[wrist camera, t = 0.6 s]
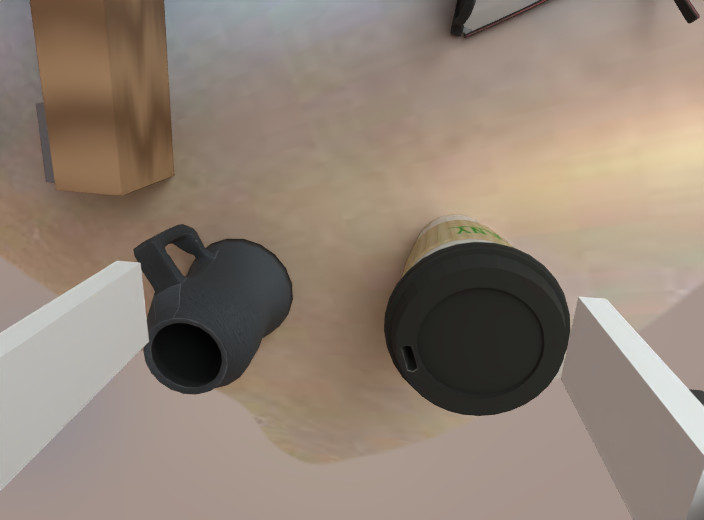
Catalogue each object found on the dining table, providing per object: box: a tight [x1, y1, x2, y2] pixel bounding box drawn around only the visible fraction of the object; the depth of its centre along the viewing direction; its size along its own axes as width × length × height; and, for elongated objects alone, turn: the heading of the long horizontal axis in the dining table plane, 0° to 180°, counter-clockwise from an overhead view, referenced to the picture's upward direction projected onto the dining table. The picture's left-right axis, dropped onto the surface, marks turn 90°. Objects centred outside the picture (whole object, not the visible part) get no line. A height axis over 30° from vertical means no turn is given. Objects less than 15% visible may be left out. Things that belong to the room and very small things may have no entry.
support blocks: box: [36, 103, 55, 183], centre depth 38 cm, size 6×9×4 cm, turn 86°
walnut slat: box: [30, 0, 174, 196], centre depth 33 cm, size 22×4×8 cm, turn 177°
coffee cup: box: [384, 215, 570, 416], centre depth 33 cm, size 10×10×15 cm
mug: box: [133, 224, 293, 394], centre depth 37 cm, size 12×9×11 cm
